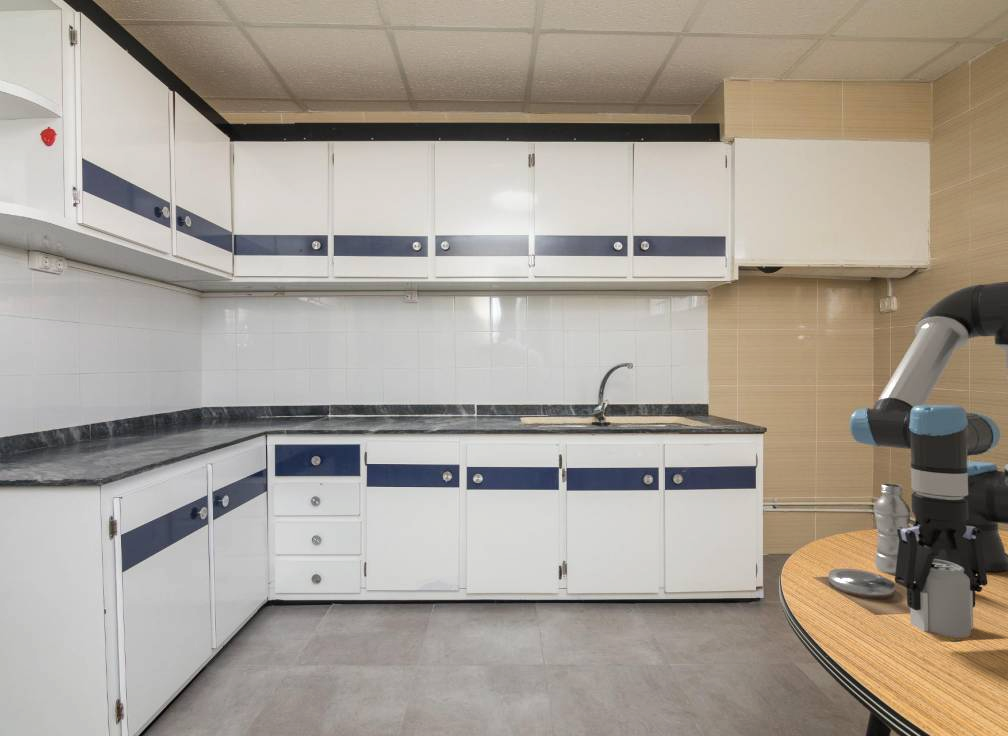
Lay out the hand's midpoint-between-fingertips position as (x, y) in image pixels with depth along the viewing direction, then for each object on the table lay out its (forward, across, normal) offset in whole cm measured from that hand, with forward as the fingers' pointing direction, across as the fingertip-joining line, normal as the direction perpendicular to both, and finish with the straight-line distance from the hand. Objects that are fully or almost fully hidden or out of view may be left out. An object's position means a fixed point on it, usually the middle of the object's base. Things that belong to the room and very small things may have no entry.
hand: (941, 626), depth 89 cm
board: (+1, 0, -14) cm, 14 cm away
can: (+1, 0, 0) cm, 1 cm away
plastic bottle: (+1, -12, -24) cm, 27 cm away
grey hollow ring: (0, +2, -16) cm, 16 cm away
